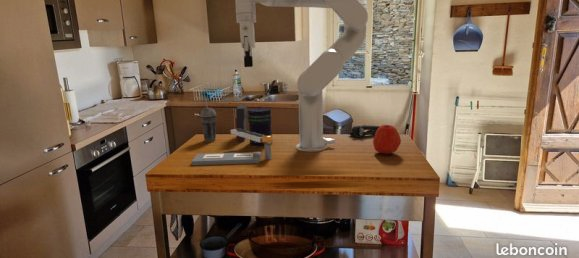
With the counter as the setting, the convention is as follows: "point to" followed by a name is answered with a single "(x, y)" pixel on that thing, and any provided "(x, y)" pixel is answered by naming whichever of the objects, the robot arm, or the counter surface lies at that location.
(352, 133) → the can opener
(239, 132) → the swing arm
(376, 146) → the apple
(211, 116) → the beverage cup
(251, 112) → the blue oil drum
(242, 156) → the label board
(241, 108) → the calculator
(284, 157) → the counter surface
